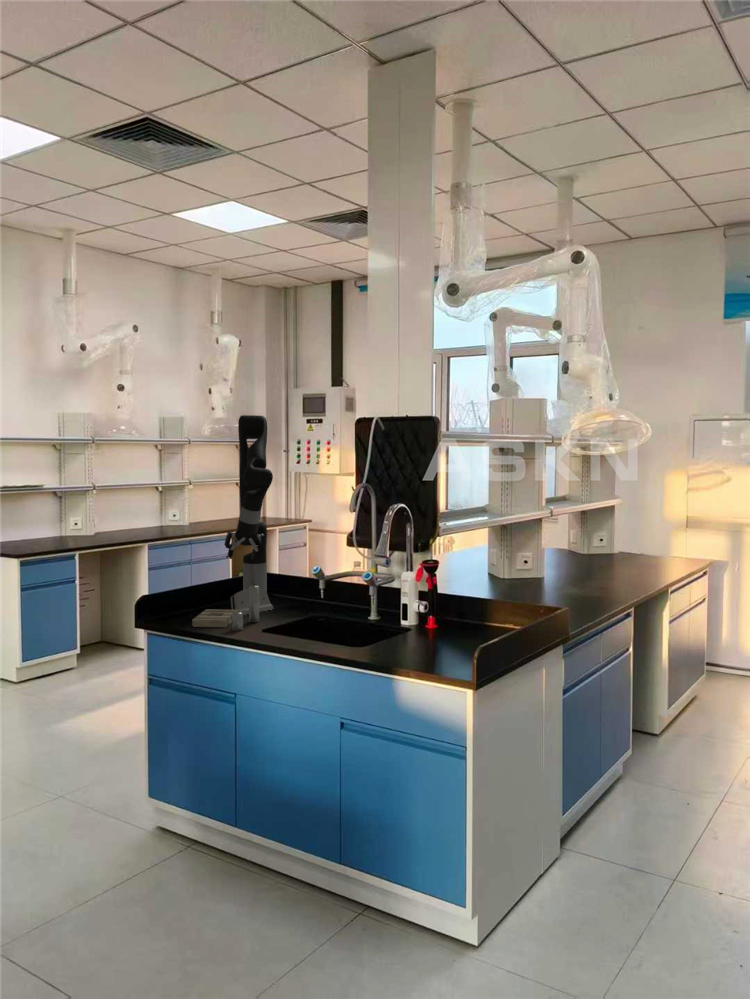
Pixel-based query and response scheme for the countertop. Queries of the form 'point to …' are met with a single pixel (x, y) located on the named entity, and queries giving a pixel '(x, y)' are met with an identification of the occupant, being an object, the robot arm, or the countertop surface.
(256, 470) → the robot arm
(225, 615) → the hole plate
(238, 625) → the short pin
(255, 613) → the long pin
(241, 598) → the hinge
